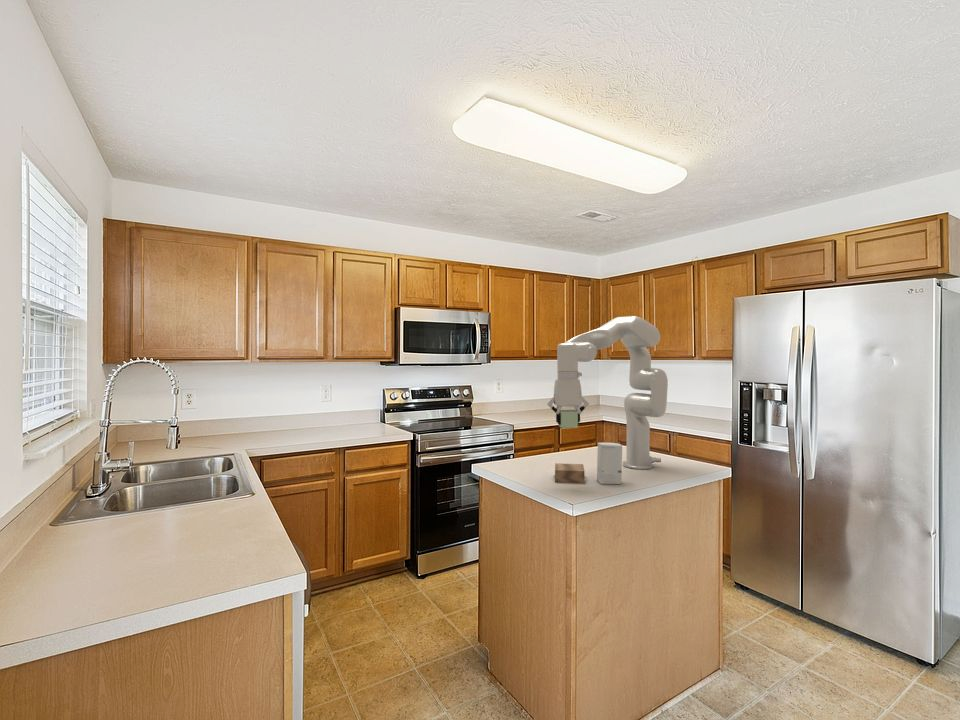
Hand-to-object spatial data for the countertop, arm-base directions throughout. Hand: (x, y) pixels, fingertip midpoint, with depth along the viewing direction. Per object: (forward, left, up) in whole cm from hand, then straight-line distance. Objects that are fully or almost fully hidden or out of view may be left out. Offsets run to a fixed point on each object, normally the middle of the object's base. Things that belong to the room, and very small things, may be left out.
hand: (568, 423), depth 180 cm
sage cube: (0, 0, -1) cm, 1 cm away
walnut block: (-2, -8, -23) cm, 25 cm away
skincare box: (-16, -3, -23) cm, 29 cm away
